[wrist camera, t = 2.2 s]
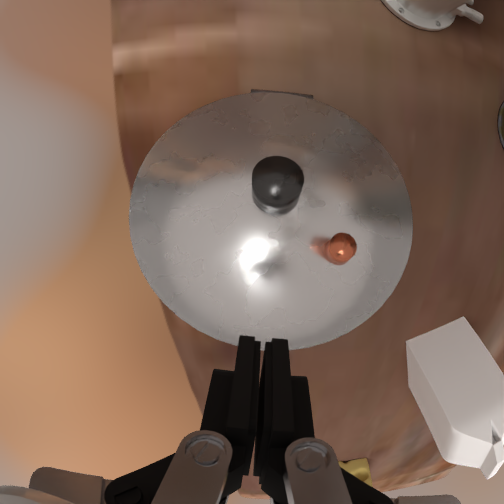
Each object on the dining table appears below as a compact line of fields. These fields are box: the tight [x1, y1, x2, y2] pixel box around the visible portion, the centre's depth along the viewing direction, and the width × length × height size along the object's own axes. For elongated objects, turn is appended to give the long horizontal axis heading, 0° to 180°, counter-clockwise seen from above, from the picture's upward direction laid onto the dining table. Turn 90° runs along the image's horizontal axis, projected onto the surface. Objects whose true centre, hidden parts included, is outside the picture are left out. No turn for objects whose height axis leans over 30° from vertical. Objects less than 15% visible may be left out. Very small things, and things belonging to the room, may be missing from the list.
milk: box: [406, 316, 504, 479], centre depth 32 cm, size 12×12×26 cm
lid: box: [129, 89, 413, 350], centre depth 19 cm, size 19×20×3 cm
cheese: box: [338, 458, 372, 487], centre depth 55 cm, size 10×11×10 cm
